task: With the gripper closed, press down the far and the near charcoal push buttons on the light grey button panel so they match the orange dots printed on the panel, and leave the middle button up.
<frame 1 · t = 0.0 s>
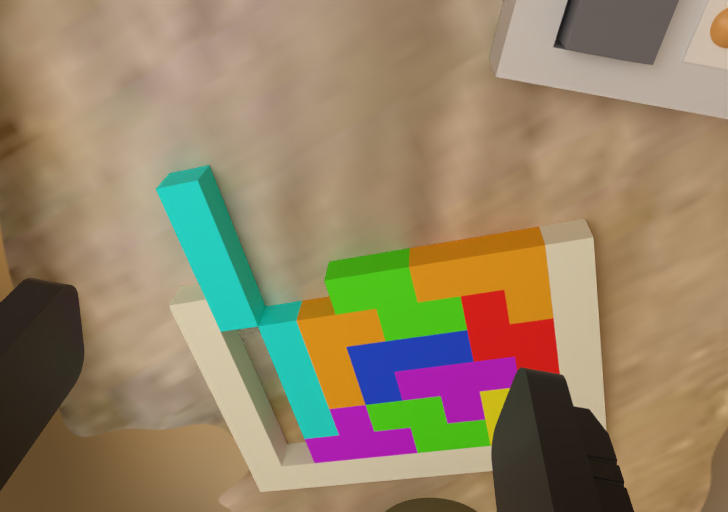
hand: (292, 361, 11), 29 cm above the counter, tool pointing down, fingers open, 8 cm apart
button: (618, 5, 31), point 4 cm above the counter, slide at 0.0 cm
puzzle game: (387, 315, 48), on the counter
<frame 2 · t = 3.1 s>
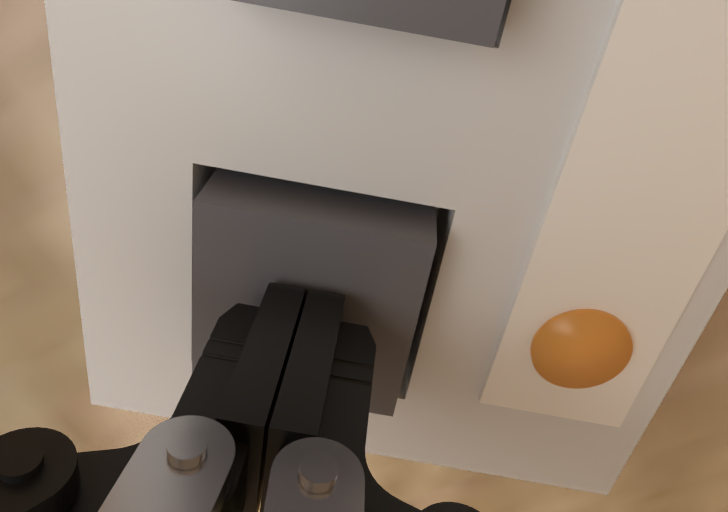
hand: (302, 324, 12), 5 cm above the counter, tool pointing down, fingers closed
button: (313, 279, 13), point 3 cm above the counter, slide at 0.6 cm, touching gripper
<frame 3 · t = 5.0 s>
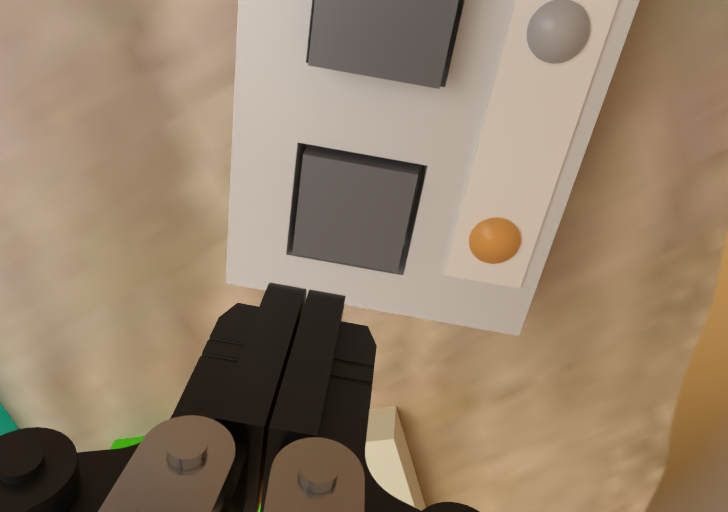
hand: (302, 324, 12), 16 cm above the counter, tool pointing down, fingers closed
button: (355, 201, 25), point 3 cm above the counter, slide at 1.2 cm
button middle: (387, 0, 20), point 4 cm above the counter, slide at 0.0 cm
puzzle game: (198, 490, 41), on the counter
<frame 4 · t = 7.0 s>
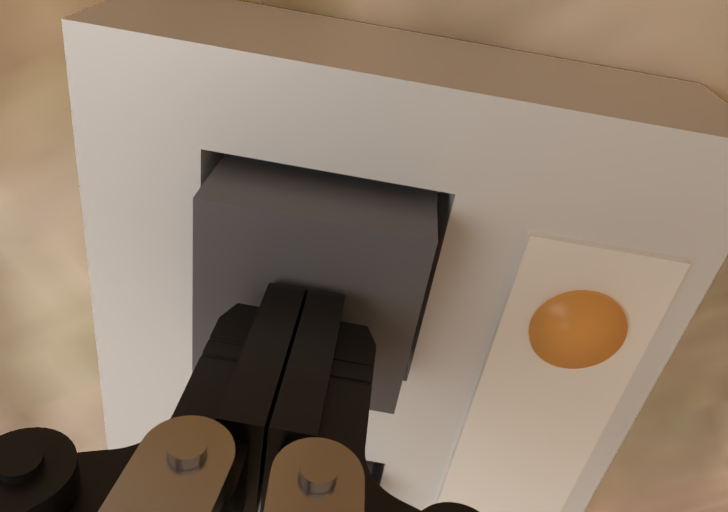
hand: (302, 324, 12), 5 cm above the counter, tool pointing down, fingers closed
button middle: (283, 509, 17), point 4 cm above the counter, slide at 0.0 cm
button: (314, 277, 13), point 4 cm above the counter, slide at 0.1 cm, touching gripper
button panel: (350, 411, 21), on the counter
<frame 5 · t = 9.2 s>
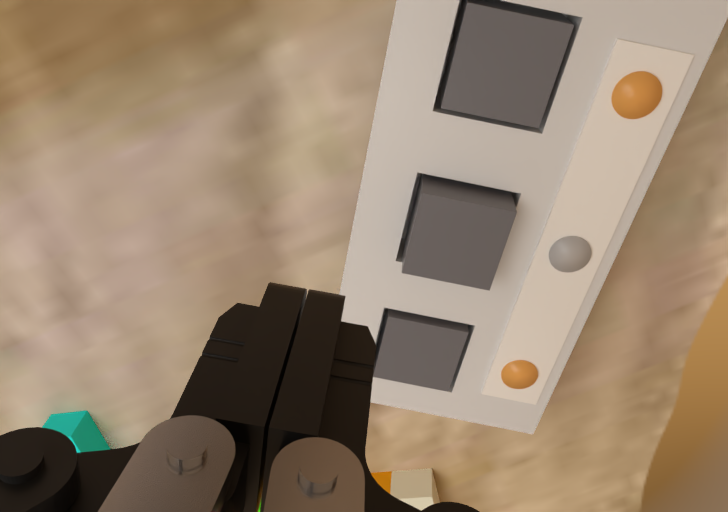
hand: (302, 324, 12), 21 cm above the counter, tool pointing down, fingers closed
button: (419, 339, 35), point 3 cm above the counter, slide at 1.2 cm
button middle: (455, 229, 30), point 4 cm above the counter, slide at 0.0 cm
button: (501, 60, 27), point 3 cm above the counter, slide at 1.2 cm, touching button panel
button panel: (479, 199, 34), on the counter
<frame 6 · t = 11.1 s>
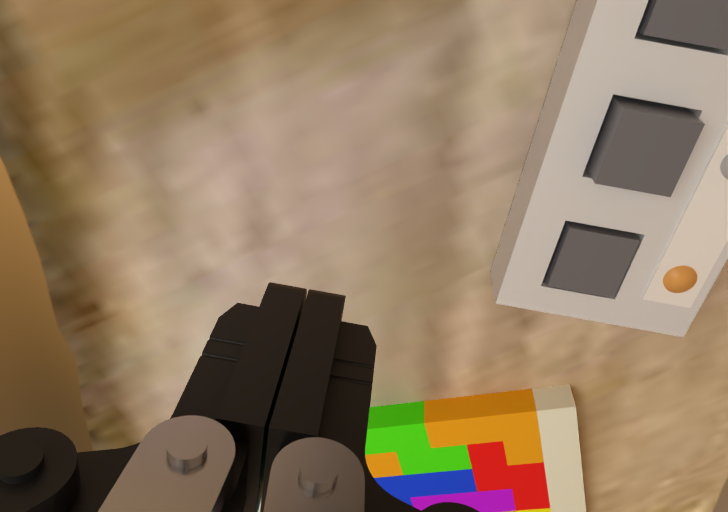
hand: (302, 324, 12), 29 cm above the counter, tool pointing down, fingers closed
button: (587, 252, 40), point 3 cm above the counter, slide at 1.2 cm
button middle: (640, 145, 35), point 4 cm above the counter, slide at 0.0 cm
puzzle game: (404, 446, 56), on the counter
button panel: (644, 125, 38), on the counter
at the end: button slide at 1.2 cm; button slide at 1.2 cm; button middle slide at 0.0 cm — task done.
